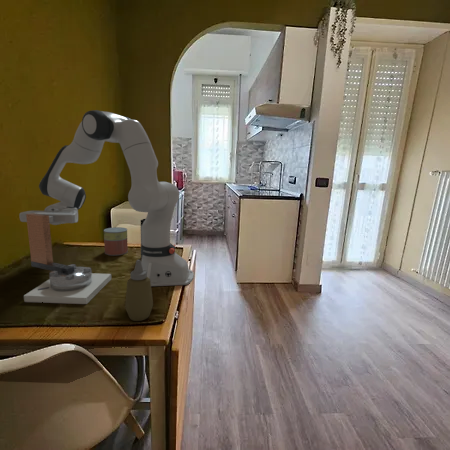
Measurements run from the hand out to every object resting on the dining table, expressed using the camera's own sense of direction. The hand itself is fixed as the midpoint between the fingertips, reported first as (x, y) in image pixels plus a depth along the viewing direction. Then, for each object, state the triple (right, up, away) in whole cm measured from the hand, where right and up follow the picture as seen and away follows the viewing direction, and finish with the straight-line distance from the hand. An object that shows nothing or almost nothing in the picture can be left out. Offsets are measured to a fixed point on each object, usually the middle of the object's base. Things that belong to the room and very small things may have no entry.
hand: (41, 220), depth 102 cm
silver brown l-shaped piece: (+10, -22, -5) cm, 25 cm away
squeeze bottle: (+45, -30, -21) cm, 57 cm away
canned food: (+14, -16, +37) cm, 43 cm away
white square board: (+15, -25, -6) cm, 30 cm away
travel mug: (+32, -18, +32) cm, 48 cm away
